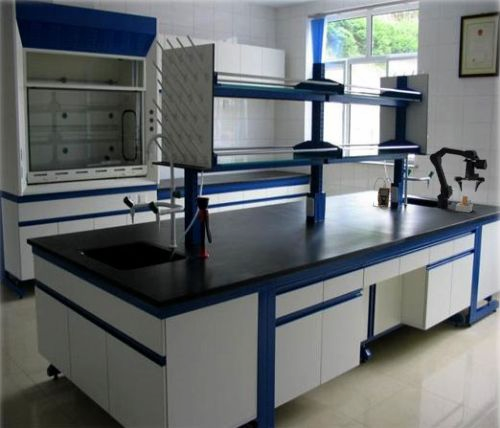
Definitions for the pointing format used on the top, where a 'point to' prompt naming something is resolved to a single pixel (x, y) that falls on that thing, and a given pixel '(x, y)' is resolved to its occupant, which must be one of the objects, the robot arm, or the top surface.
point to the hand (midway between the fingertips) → (468, 191)
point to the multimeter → (383, 195)
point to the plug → (464, 201)
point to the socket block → (464, 208)
